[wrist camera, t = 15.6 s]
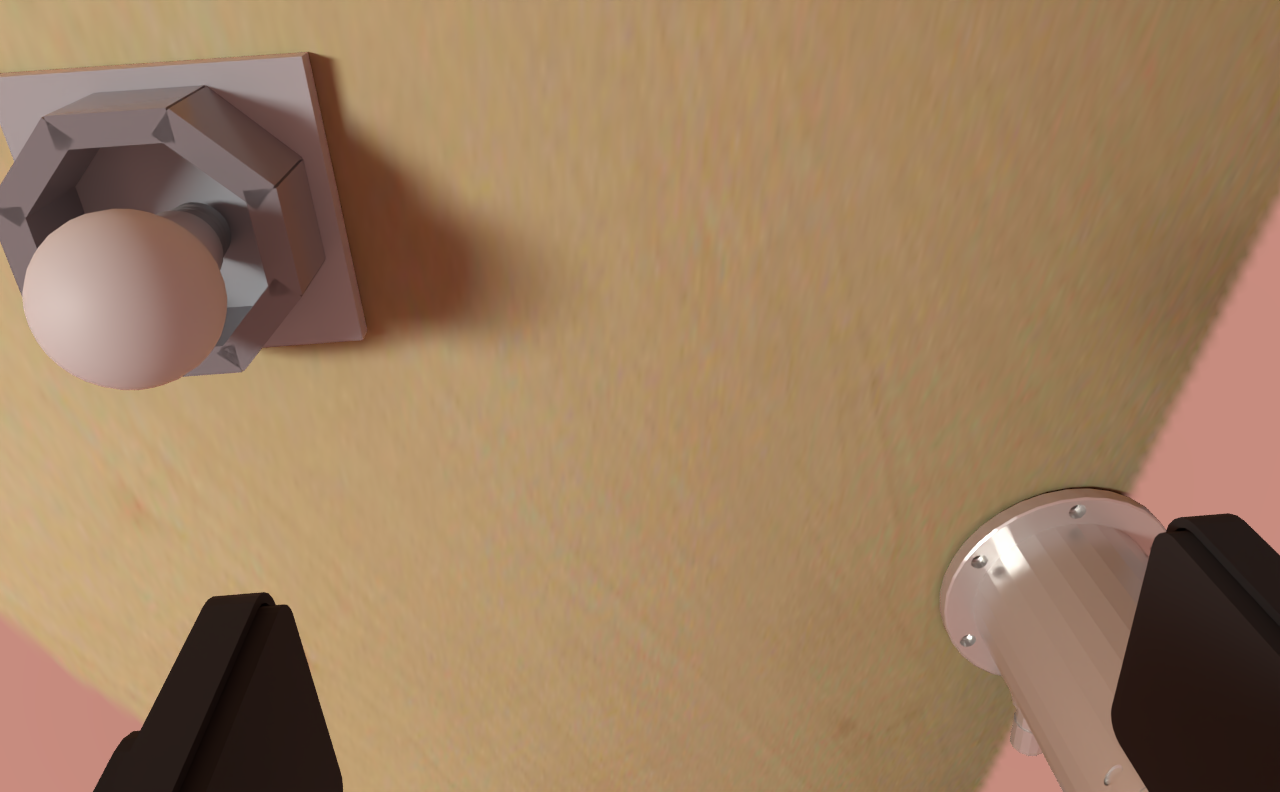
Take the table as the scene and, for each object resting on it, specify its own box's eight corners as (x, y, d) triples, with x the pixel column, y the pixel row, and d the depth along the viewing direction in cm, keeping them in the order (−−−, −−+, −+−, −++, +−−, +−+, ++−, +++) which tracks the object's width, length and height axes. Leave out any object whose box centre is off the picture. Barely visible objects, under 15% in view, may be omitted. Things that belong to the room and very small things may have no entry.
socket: (367, 330, 43) (343, 382, 39) (98, 350, 43) (44, 405, 39) (307, 51, 38) (272, 75, 33) (-4, 73, 37) (-80, 100, 33)
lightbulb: (118, 143, 38) (-34, 233, 28) (279, 160, 39) (184, 255, 29) (135, 287, 41) (2, 415, 31) (285, 301, 41) (200, 430, 32)
